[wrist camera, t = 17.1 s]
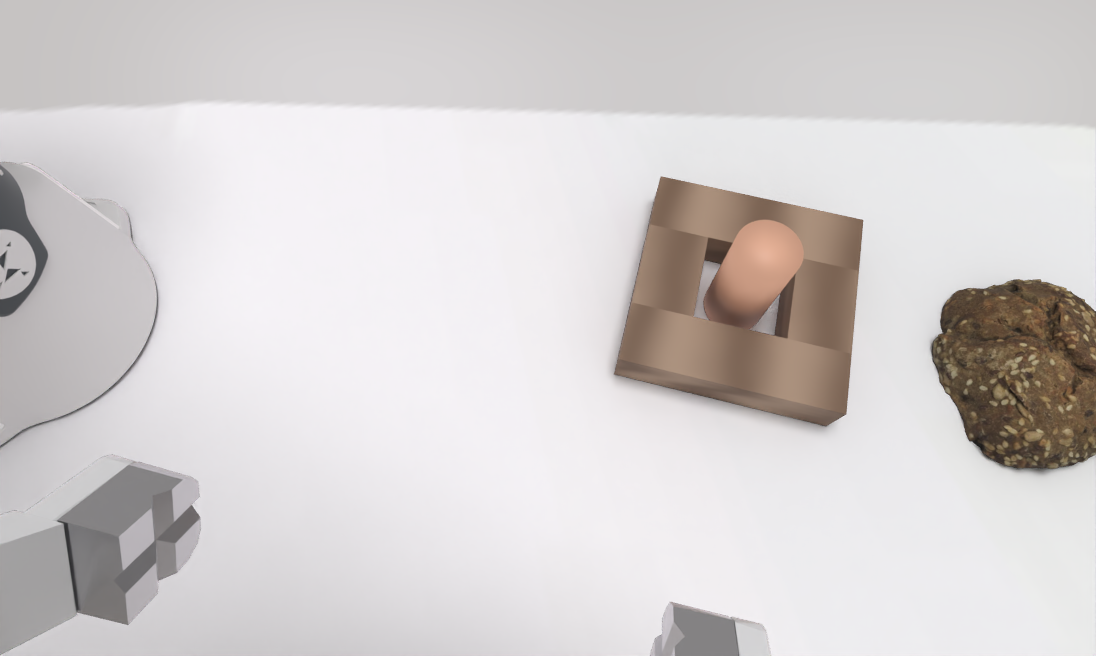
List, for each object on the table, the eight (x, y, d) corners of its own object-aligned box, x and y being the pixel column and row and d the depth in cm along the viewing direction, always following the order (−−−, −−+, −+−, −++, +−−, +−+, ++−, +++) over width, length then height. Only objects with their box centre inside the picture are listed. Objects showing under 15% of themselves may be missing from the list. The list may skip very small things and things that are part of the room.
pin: (699, 324, 45) (729, 271, 37) (708, 274, 46) (739, 213, 39) (757, 338, 44) (799, 287, 37) (764, 287, 46) (807, 228, 38)
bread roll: (1159, 431, 42) (1234, 411, 38) (994, 492, 41) (1052, 479, 36) (1044, 264, 47) (1099, 229, 42) (892, 314, 46) (931, 282, 41)
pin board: (614, 374, 43) (618, 359, 41) (654, 200, 49) (660, 176, 46) (826, 426, 42) (846, 414, 39) (844, 242, 47) (863, 220, 44)
